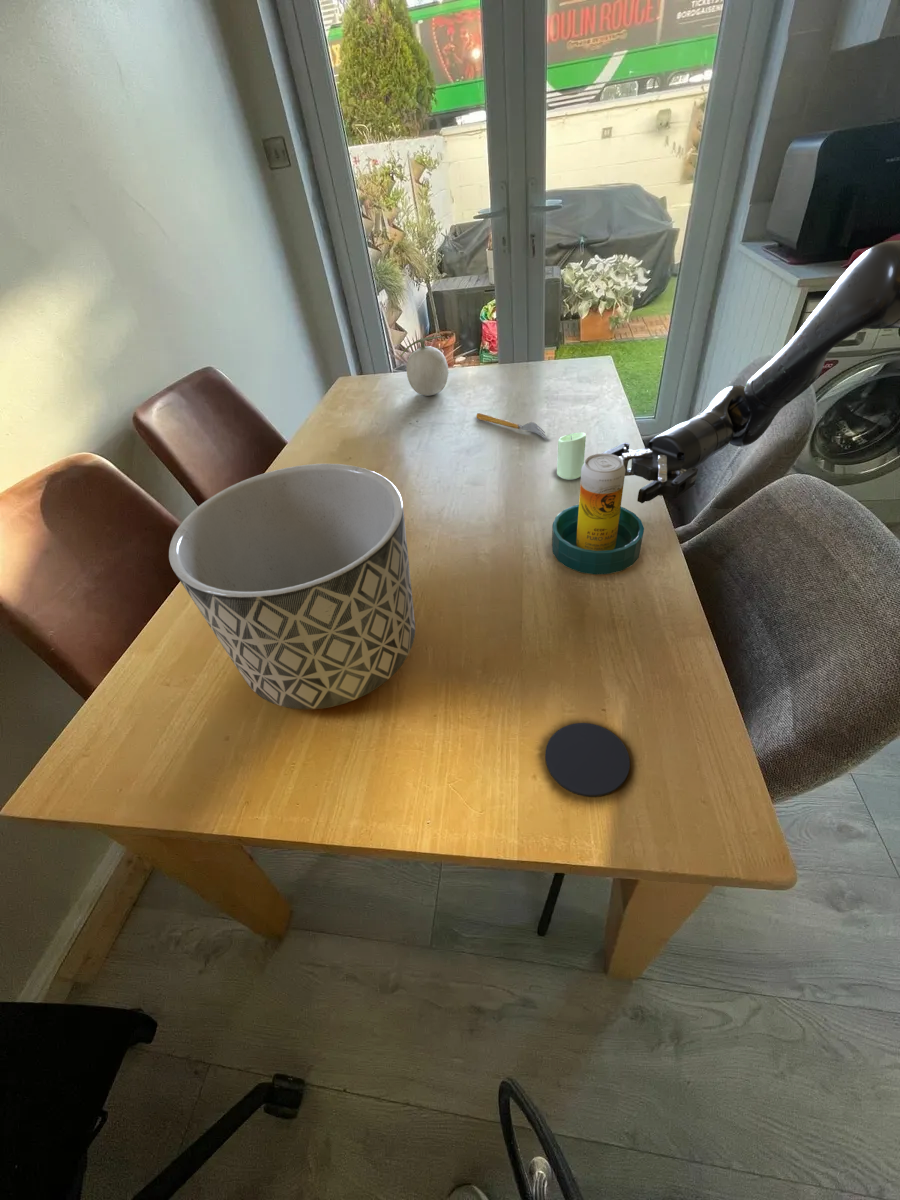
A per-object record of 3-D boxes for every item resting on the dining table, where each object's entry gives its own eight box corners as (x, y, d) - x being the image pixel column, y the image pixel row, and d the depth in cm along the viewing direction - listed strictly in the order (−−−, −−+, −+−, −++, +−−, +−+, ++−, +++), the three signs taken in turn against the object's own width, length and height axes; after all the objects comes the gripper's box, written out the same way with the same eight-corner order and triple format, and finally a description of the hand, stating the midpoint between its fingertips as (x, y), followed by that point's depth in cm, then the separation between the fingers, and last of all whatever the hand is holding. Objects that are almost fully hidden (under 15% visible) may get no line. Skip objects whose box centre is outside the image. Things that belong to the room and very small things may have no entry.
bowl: (644, 531, 90) (648, 508, 87) (633, 583, 81) (637, 559, 78) (562, 520, 95) (563, 498, 92) (542, 568, 86) (543, 545, 83)
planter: (402, 740, 65) (365, 601, 50) (203, 721, 69) (117, 590, 55) (442, 594, 83) (423, 462, 69) (283, 587, 88) (235, 463, 74)
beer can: (586, 562, 85) (594, 476, 75) (569, 541, 90) (574, 457, 80) (622, 553, 86) (634, 467, 76) (603, 533, 90) (613, 448, 81)
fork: (473, 413, 127) (544, 431, 116) (478, 409, 128) (549, 426, 117) (475, 423, 129) (546, 441, 118) (480, 418, 130) (551, 436, 119)
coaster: (634, 736, 62) (635, 734, 62) (622, 808, 56) (623, 806, 56) (555, 716, 65) (555, 714, 65) (536, 782, 59) (536, 780, 59)
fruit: (406, 389, 147) (397, 329, 137) (449, 384, 147) (443, 323, 137) (406, 404, 139) (397, 342, 129) (451, 399, 139) (445, 336, 129)
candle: (551, 473, 107) (552, 434, 102) (569, 464, 109) (571, 424, 104) (570, 482, 104) (573, 442, 98) (588, 472, 106) (592, 432, 101)
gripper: (647, 415, 92) (581, 449, 85) (727, 440, 83) (660, 480, 76) (641, 456, 97) (578, 491, 90) (716, 484, 88) (652, 526, 81)
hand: (616, 486), depth 83 cm, fingers open, 8 cm apart
